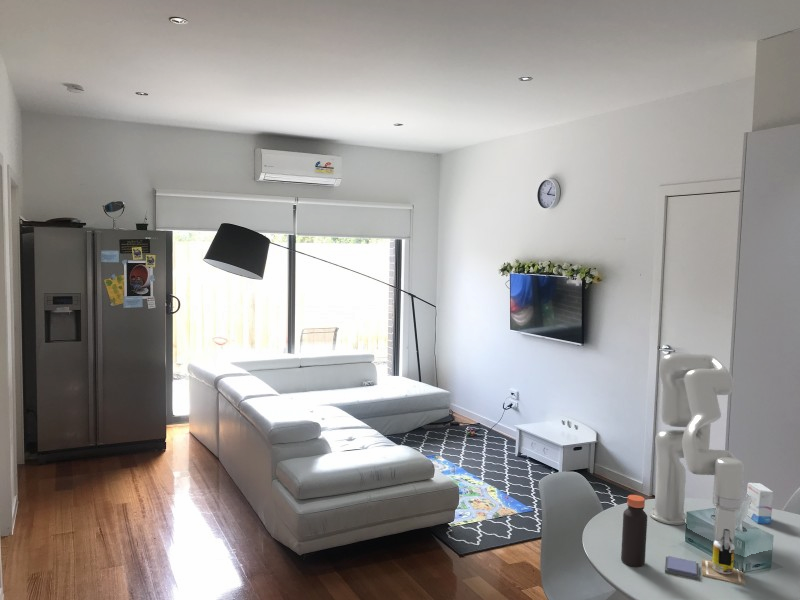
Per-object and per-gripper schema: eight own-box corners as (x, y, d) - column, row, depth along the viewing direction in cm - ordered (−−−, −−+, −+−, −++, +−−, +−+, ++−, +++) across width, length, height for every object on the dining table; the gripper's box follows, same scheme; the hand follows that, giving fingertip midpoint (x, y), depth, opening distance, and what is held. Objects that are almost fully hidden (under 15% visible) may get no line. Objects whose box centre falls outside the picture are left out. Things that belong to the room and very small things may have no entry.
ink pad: (665, 559, 191) (666, 554, 191) (698, 566, 187) (698, 561, 187) (664, 572, 183) (665, 567, 183) (698, 580, 179) (699, 575, 179)
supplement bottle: (726, 577, 180) (728, 543, 180) (708, 568, 185) (710, 535, 184) (736, 571, 184) (739, 538, 183) (718, 563, 188) (720, 531, 187)
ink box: (772, 524, 218) (774, 491, 217) (757, 523, 218) (759, 491, 217) (758, 513, 226) (760, 482, 225) (744, 513, 226) (746, 481, 225)
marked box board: (701, 559, 191) (701, 558, 191) (742, 567, 187) (742, 566, 187) (702, 576, 181) (702, 574, 181) (745, 585, 177) (745, 583, 177)
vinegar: (630, 554, 194) (633, 491, 192) (649, 563, 188) (653, 499, 186) (616, 559, 190) (619, 496, 188) (635, 569, 184) (639, 504, 183)
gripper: (711, 488, 192) (708, 542, 193) (714, 509, 176) (710, 567, 177) (739, 492, 189) (735, 547, 190) (744, 514, 173) (740, 573, 174)
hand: (723, 556), depth 184 cm, fingers open, 9 cm apart
